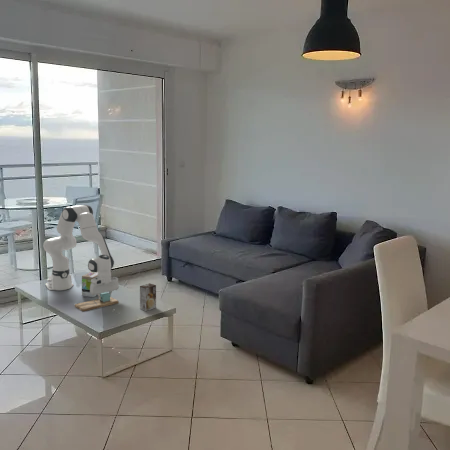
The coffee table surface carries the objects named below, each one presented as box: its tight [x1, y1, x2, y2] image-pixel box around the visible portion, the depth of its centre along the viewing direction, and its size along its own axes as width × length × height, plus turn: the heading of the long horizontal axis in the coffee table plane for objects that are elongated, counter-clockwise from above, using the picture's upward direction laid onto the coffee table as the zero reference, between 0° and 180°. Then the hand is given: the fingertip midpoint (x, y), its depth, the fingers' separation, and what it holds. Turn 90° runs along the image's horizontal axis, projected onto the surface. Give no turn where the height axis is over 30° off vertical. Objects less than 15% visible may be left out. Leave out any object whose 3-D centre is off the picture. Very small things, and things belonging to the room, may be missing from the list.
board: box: [74, 296, 120, 312], centre depth 308 cm, size 12×26×2 cm, turn 134°
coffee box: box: [139, 283, 157, 312], centre depth 303 cm, size 9×6×16 cm
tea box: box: [81, 271, 98, 298], centre depth 330 cm, size 15×10×15 cm
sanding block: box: [98, 292, 110, 302], centre depth 311 cm, size 6×5×5 cm
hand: (104, 298), depth 312 cm, fingers closed on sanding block, 5 cm apart
